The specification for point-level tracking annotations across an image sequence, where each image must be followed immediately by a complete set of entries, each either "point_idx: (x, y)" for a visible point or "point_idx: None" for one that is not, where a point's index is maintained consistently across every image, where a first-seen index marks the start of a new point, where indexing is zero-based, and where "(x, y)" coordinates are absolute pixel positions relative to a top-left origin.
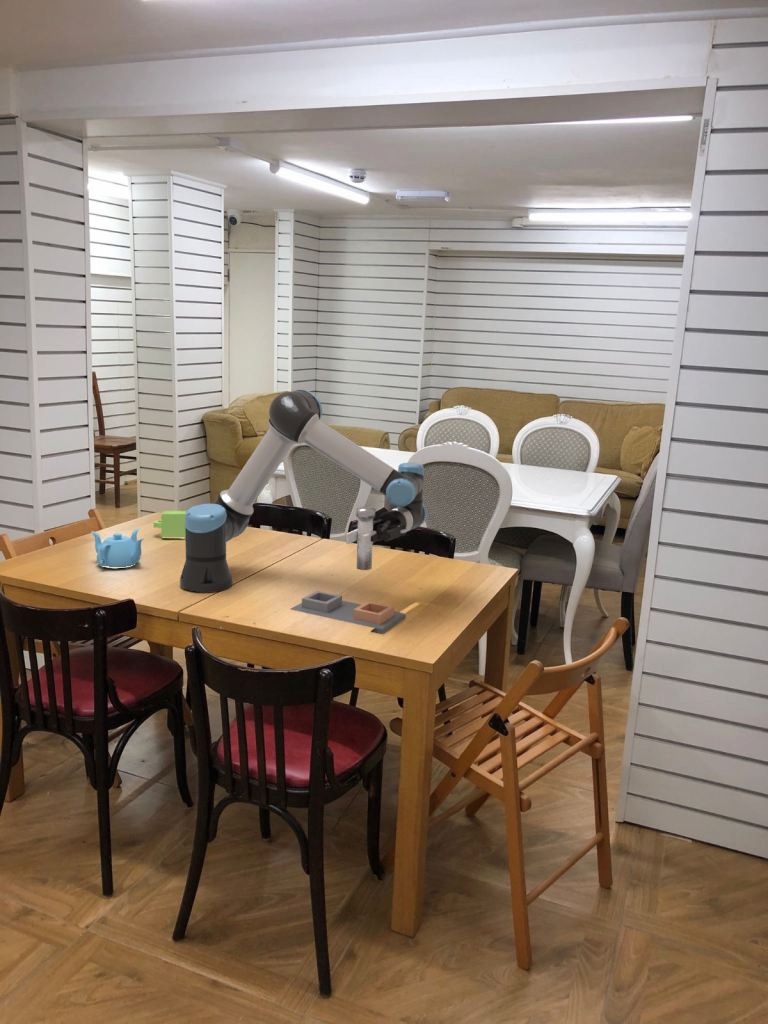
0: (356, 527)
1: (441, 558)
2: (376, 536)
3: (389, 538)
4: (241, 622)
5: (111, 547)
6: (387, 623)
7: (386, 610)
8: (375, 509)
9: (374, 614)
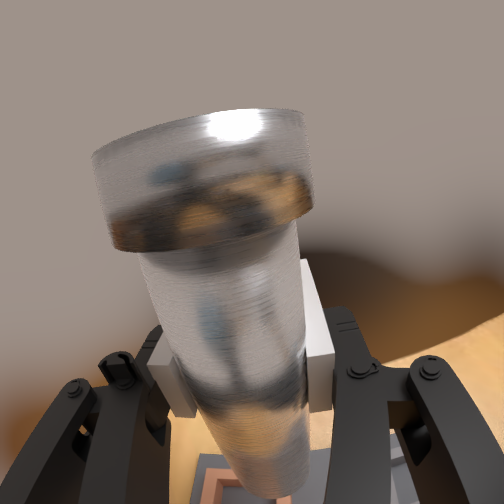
0: (423, 414)
1: None
2: (147, 341)
3: (82, 435)
4: (444, 347)
5: None
6: (199, 487)
7: (204, 501)
8: (92, 163)
9: (224, 469)
